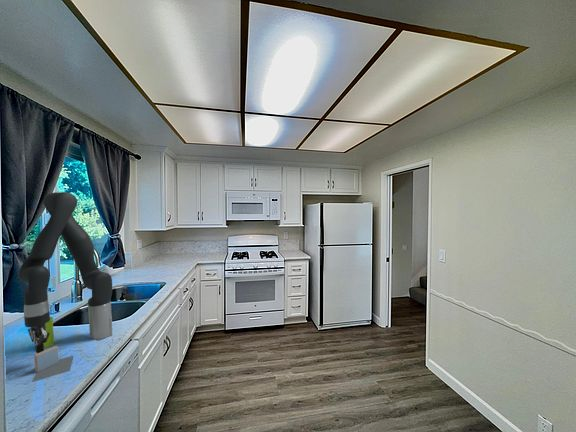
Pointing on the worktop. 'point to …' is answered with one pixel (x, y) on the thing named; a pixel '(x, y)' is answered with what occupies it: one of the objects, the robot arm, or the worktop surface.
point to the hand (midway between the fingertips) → (39, 352)
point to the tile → (46, 358)
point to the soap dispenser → (51, 335)
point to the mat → (55, 369)
